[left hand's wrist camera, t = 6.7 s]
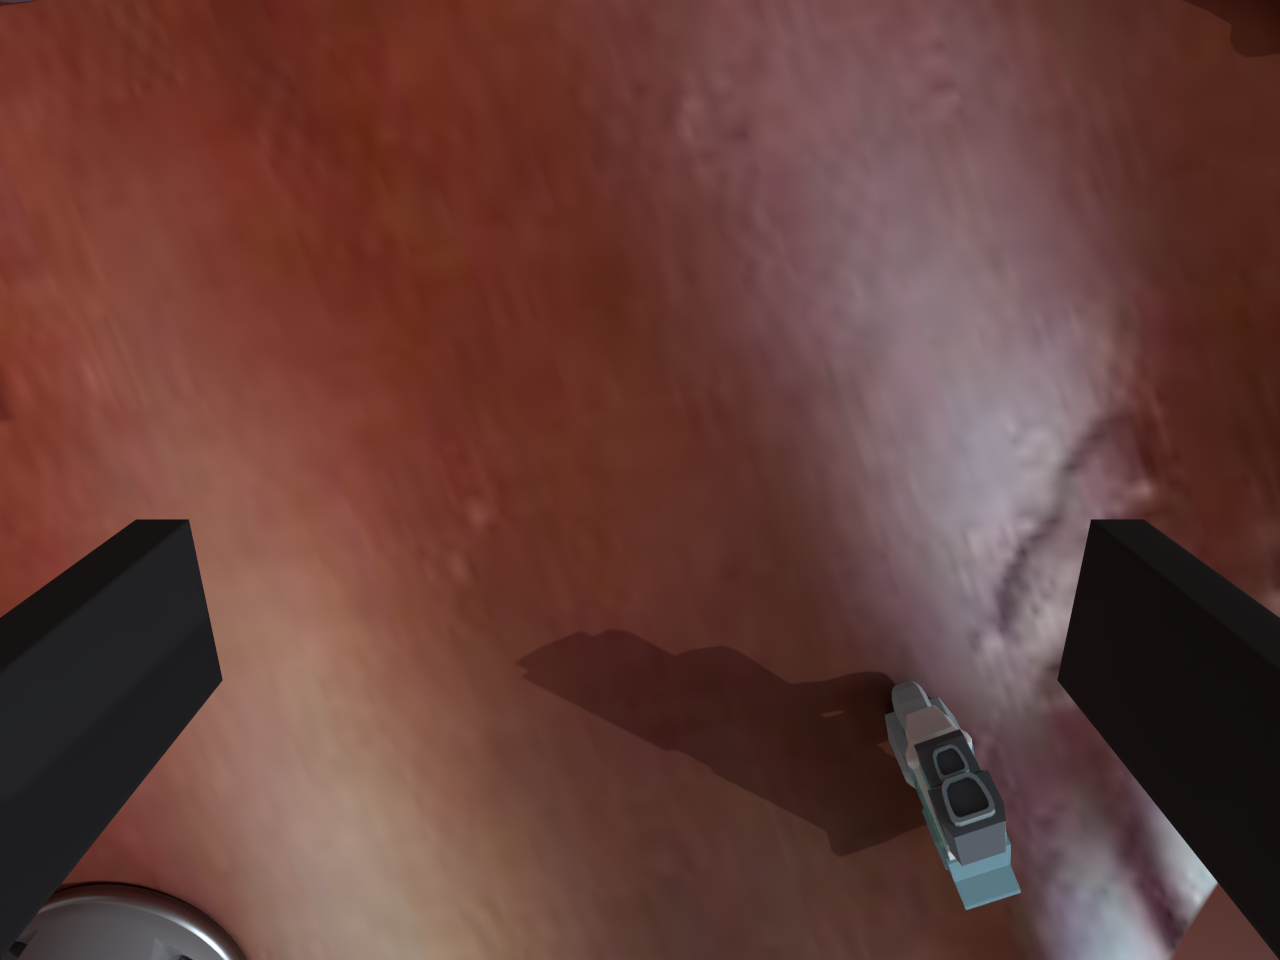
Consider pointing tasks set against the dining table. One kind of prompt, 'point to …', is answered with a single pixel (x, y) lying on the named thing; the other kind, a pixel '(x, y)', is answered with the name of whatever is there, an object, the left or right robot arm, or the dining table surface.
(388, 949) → the dining table surface
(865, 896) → the dining table surface
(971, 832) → the toy gun
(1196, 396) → the dining table surface
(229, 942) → the right robot arm
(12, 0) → the jar
